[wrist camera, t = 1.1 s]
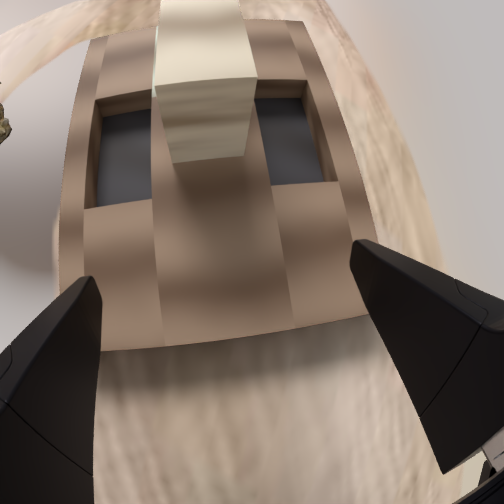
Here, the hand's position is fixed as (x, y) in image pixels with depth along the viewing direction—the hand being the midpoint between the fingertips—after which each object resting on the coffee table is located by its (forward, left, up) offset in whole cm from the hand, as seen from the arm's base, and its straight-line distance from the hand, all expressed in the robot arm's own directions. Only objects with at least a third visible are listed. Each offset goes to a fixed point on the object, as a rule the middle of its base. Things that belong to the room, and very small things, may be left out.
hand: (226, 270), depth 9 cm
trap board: (+9, -8, -13) cm, 18 cm away
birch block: (+11, -9, -10) cm, 18 cm away
